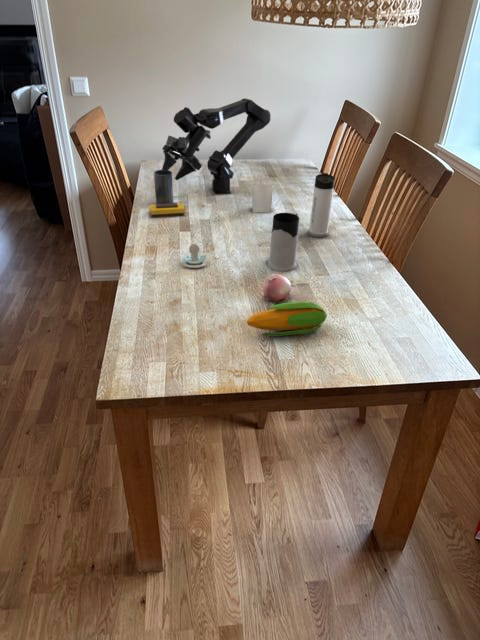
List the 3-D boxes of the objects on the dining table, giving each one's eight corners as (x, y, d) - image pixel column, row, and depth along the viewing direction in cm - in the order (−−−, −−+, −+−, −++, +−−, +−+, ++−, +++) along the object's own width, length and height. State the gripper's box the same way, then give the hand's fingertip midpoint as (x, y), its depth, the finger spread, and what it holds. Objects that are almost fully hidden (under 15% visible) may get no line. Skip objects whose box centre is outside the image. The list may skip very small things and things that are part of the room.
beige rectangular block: (271, 212, 183) (272, 186, 178) (252, 212, 183) (254, 186, 177) (269, 208, 186) (271, 182, 181) (252, 208, 186) (253, 182, 180)
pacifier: (206, 269, 146) (206, 259, 151) (206, 250, 142) (206, 241, 147) (181, 269, 146) (182, 259, 150) (181, 250, 142) (181, 241, 147)
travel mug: (326, 230, 172) (334, 173, 160) (327, 238, 166) (335, 179, 155) (308, 229, 172) (315, 172, 161) (309, 237, 167) (315, 178, 155)
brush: (182, 210, 183) (182, 200, 181) (184, 215, 178) (184, 206, 176) (150, 212, 180) (149, 202, 178) (151, 217, 176) (150, 208, 174)
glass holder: (263, 266, 148) (266, 219, 140) (280, 248, 159) (284, 203, 151) (290, 273, 145) (295, 226, 137) (306, 254, 156) (311, 209, 148)
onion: (262, 290, 137) (263, 267, 133) (290, 291, 137) (292, 268, 133) (262, 306, 130) (263, 282, 126) (291, 307, 130) (294, 283, 126)
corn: (333, 309, 116) (250, 316, 112) (329, 336, 120) (249, 344, 116) (322, 294, 122) (243, 300, 119) (319, 320, 126) (243, 327, 122)
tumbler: (176, 203, 188) (174, 171, 181) (169, 209, 183) (167, 176, 176) (160, 201, 189) (158, 168, 182) (153, 207, 184) (151, 174, 177)
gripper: (165, 121, 181) (141, 156, 181) (194, 132, 169) (168, 170, 169) (184, 140, 189) (161, 174, 190) (212, 152, 177) (188, 188, 178)
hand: (168, 176), depth 181 cm, fingers open, 9 cm apart
